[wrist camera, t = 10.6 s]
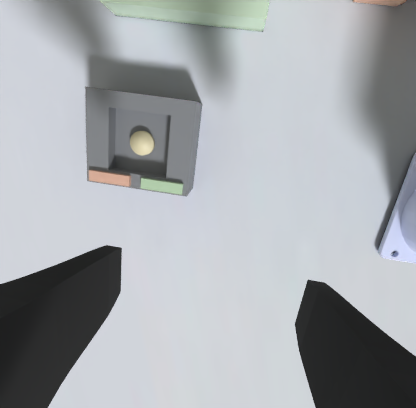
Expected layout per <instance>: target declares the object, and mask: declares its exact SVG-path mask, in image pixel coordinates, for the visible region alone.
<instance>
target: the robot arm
mask: <svg viewBox="0 0 416 408" xmlns="http://www.w3.org/2000/svg"><path fill="white" fill-rule="evenodd" d="M393 251H396V252H395V253H394V254H393V255H391V253H392V252H393ZM121 252H122V248H119V247H113V246H108V245H106V246H103V247H100V248H97V249H94V250H92V251H89V252H87V253H84V254H82V255H80V256H77V257H75V258H72V259H70V260H67V261H65V262H62V263H60V264H57V265H55V266H52V267H49V268H47V269H44V270H41V271H38V272H36V273H33V274H30V275H27V276H25V277H22V278H19V279H16V280H13V281H10V282H6V283H3V284H0V408H48V406H49V404H50V403H51V401H52V399H53V397H54V396H55V394H56V392H57V390H58V389H59V387H60V385H61V384H62V382H63V381H64V379H65V377H66V376H67V374H68V373H69V371H70V370H71V368H72V367H73V366H74V364H75V363H76V361H77V360H78V358H79V357H80V355H81V354H82V353H83V351H84V350H85V348H86V347H87V345H88V344H89V343H90V341H91V340H92V338H93V337H94V335H95V334H96V333H97V331H98V330H99V328H100V327H101V325H102V324H103V322H104V321H105V319H106V318H107V316H108V315H109V313H110V311H111V309H112V308H113V306H114V304H115V302H116V300H117V298H118V296H119V294H120V291H121ZM378 253H379V255H380V256H381V257H383V258H385V259H391V260H397V261H404V262H410V263H416V153H415V154H414V156H413V159H412V161H411V164H410V167H409V169H408V172H407V175H406V177H405V180H404V183H403V185H402V188H401V191H400V193H399V196H398V199H397V201H396V204H395V207H394V209H393V212H392V215H391V217H390V220H389V223H388V225H387V228H386V231H385V233H384V236H383V239H382V241H381V244H380V247H379V249H378ZM295 327H296V334H297V341H298V346H299V352H300V355H301V359H302V363H303V366H304V369H305V373H306V376H307V380H308V383H309V387H310V390H311V393H312V397H313V400H314V403H315V407H316V408H416V356H414V355H413V354H412V353H410V352H409V351H408V350H406V349H405V348H404V347H402V346H401V345H400V344H399V343H397V342H396V341H395V340H393V339H392V338H391V337H390V336H388V335H387V334H386V333H384V332H383V331H382V330H381V329H380V328H378V327H377V326H376V325H375V324H373V323H372V322H371V321H370V320H369V319H368V318H366V317H365V316H364V315H363V314H362V313H360V312H359V311H358V310H357V309H356V308H355V307H353V306H352V305H351V304H350V303H349V302H348V301H346V300H345V299H344V298H343V297H342V296H341V295H339V294H338V293H337V292H336V291H335V290H333V289H332V288H331V287H330V286H328V285H327V284H326V283H323V282H317V281H312V280H308V281H307V284H306V288H305V291H304V295H303V298H302V302H301V305H300V308H299V312H298V315H297V319H296V322H295Z"/></svg>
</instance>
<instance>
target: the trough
mask: <svg viewBox="0 0 416 408" xmlns="http://www.w3.org/2000/svg"><path fill="white" fill-rule="evenodd" d="M100 2H101V3H102V4H104V5H105V6H106V7H107V8H108V9H109V10H110V11H111V12H112V13H114V14H115V15H116V16H124V17H133V18H143V19H152V20H161V21H170V22H179V23H188V24H197V25H206V26H215V27H224V28H233V29H243V30H252V31H261V32H263V29H264V26H265V22H266V18H267V12H268V6H269V0H100Z"/></svg>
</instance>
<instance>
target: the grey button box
mask: <svg viewBox="0 0 416 408" xmlns="http://www.w3.org/2000/svg"><path fill="white" fill-rule="evenodd" d="M85 88H86V139H87V181H90V182H97V183H103V184H110V185H116V186H123V187H129V188H135V189H142V190H148V191H155V192H161V193H168V194H174V195H181V196H187V195H188V194H189V192H190V191H191V190H192V188H193V181H194V173H195V164H196V155H197V146H198V137H199V128H200V119H201V110H202V104H200V103H199V102H197V101H190V100H183V99H175V98H167V97H160V96H152V95H144V94H136V93H129V92H121V91H113V90H106V89H98V88H90V87H85Z"/></svg>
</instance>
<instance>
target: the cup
mask: <svg viewBox="0 0 416 408" xmlns="http://www.w3.org/2000/svg"><path fill="white" fill-rule="evenodd" d="M406 1H407V0H353V2H358V3H368V4H378V5H388V6H398V5H399V4H400V5H402V4H403V3H404V2H406Z"/></svg>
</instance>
